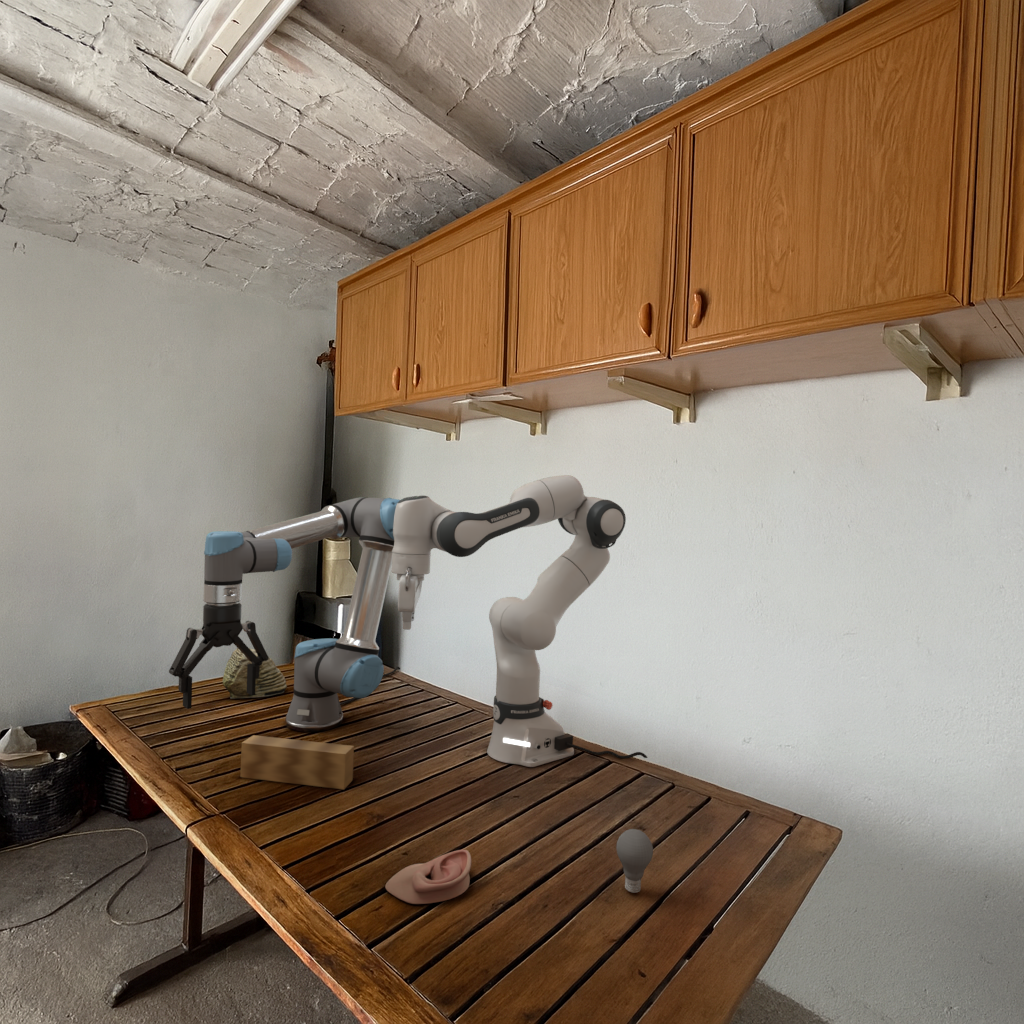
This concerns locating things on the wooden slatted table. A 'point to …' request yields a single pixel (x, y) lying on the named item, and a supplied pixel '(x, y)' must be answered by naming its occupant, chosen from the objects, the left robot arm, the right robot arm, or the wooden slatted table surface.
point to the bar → (297, 762)
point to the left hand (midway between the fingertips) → (220, 700)
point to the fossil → (265, 684)
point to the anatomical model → (432, 879)
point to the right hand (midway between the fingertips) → (408, 624)
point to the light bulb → (634, 857)
